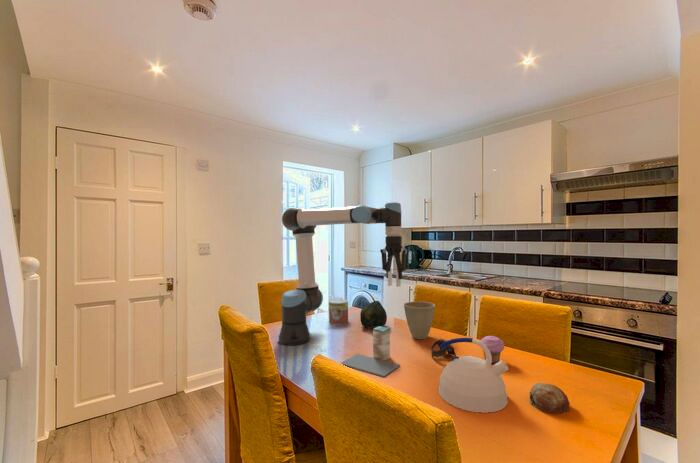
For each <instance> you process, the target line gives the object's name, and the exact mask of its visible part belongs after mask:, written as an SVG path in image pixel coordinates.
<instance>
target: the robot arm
mask: <svg viewBox="0 0 700 463" xmlns="http://www.w3.org/2000/svg"><path fill="white" fill-rule="evenodd" d="M281 222H282V224H283V227H284V228H285V229H287V230H289V231H292V236H293V237H294V238H295V245H296V247H295V248H296V259H297V260H296V262H297V276H298V284H297V285H296V287H295V289H292V290H286V291H285V292H283V294H282V296H281V302H280V304H281V327H280V331H279V334H278V343H279V344H281V345H284V346H298V345H304V344H306V343H308V342H310V340H311V334H310V331H309V328H308V325H307V314H309V313H311V312H315V311H317V310H318V309H319V308H320V307H321V306H322V305H323V301H324V296H323V292H322V291H321V289H320V288H319V284H318V283H317V282H316V275H315V272H316V270H315V259H314V246H313V245H314V243H313V236H315V233H316V232H315V229H316V228H317V226H328V225H329V226H330V225H350V224H363V225H365V224H366V225H370V224H371V225H374V224H384V226H385V227H384V229H385V235H386V236H385V247H384V248H383V249H382V248H381V249H380V250H379V252H380V254H381V264H382V265H381V267H382V269H381V270H383V271H385V272H386V273H385V275H386V279H387V286H388V287H390V286H393V271H392V269H391V268H392V262H393V257H394V258H395V263H396V268H397V271H396V273H395V274H396V275H395V279H396V287H397V288H398V287H401V285H402V284H401V283H402V282H401V281H402V280H403V272H405V271H407V254H408V252H409V250H408V249H405V248H403V246H402V243H403V239H402V238H403V237H402V234H403V233H402V206H401V202H400V203H399V202H395V201H394V202H392V201H391V202H386V203H385V204H384V206H383V207H370V206H367V205H357V206H347V207H346V206H345V207H332V208H331V207H330V208H319V209H318V208H317V209H307V208H303V207H301V208H300V207H299V208H298V207H291V208H287V209H286V210H285V211H284V212H283V214H282V216H281Z"/></svg>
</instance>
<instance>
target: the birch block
mask: <svg viewBox="0 0 700 463" xmlns="http://www.w3.org/2000/svg"><path fill="white" fill-rule="evenodd" d="M390 329H391V328H389V327H385V326H383V327H381V326H378V327H376V328H374V327H373V328H372V349H373V350H372V355H373V356H372V357H373V358H377V359H381V360H384V361H387V360H388V359H390V358H391V341H390V340H391V338H390V337H391V335H390V333H391V332H390Z"/></svg>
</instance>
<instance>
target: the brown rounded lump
mask: <svg viewBox="0 0 700 463" xmlns="http://www.w3.org/2000/svg"><path fill="white" fill-rule="evenodd" d="M529 404H530V405H532V406H534V407H535V408H537V409H539V410H540V411H542V412H545V413H547V414H553V415H560V414H564V413H567V412H568V410H569V409H570V401H569V397H568V396H567V395H566V393H565V392H564V391H563V390H562V389H561V388H560V387H558V386H557V385H555V384H551V383H546V382H537V383H535V384H534V385H532V387H531V388H530V390H529Z"/></svg>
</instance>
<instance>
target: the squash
mask: <svg viewBox="0 0 700 463" xmlns="http://www.w3.org/2000/svg"><path fill="white" fill-rule="evenodd" d="M359 316H360V324H361V325H362V327H363V328H367V329H368V328H369V329H374V328H376V327H378V326H381V327H385V326H386V324H387V320H388V315H387V311H386V310H385V307H383V305H382V303H381V302H380V301H379V300H374V301H372V302H370V303H368V304H366V305H364V306H363V307H362V309H361V310H360V314H359Z"/></svg>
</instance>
